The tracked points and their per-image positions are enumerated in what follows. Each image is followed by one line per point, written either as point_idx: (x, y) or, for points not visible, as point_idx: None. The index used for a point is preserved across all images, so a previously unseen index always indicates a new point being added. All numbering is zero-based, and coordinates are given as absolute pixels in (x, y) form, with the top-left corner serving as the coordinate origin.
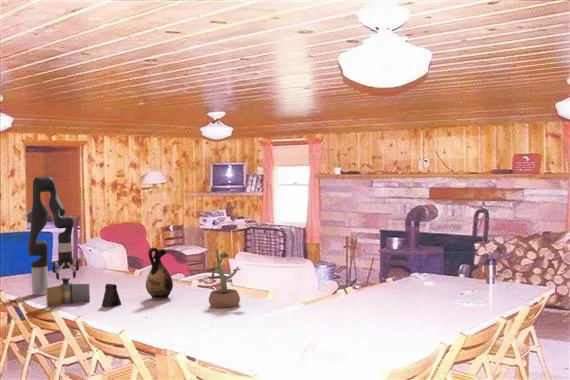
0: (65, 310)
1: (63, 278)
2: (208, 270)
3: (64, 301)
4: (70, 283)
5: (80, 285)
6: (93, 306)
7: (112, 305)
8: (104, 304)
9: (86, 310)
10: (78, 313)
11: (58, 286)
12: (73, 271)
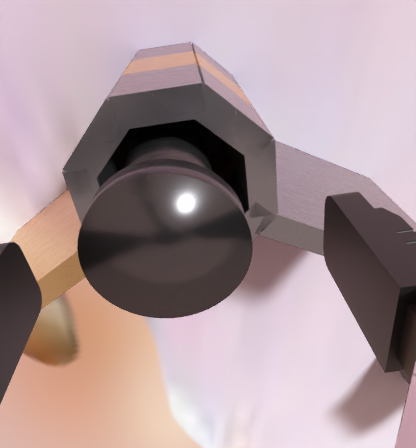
0: (173, 366)
1: (121, 267)
2: None
3: None
4: (248, 138)
5: None
6: (345, 327)
7: None
8: (403, 371)
9: (285, 397)
10: (238, 433)
11: (70, 284)
12: (404, 363)
